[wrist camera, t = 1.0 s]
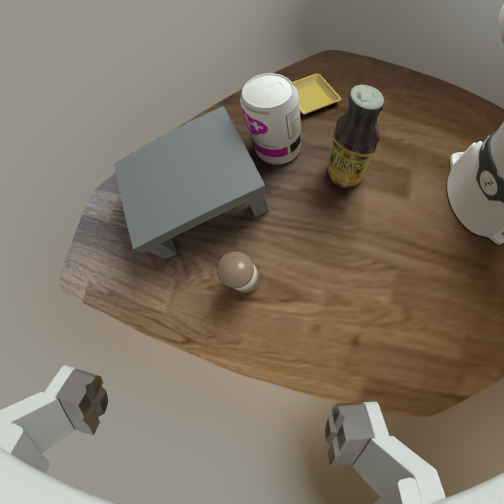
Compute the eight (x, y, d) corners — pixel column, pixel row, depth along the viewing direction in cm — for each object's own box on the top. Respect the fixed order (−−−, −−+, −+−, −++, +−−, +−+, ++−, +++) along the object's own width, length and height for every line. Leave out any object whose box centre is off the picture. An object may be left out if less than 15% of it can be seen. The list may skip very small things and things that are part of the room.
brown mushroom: (254, 258, 47) (244, 245, 39) (266, 286, 45) (258, 278, 38) (227, 270, 47) (212, 260, 39) (238, 298, 46) (224, 293, 38)
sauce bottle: (320, 180, 48) (325, 100, 29) (336, 152, 49) (346, 69, 30) (356, 197, 46) (381, 124, 27) (370, 169, 47) (396, 90, 28)
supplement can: (270, 174, 50) (256, 120, 35) (247, 141, 52) (228, 86, 38) (310, 153, 49) (309, 95, 35) (285, 122, 52) (277, 63, 37)
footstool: (237, 140, 52) (223, 106, 43) (273, 212, 48) (265, 185, 38) (141, 187, 54) (114, 163, 44) (163, 263, 49) (133, 249, 40)
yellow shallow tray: (341, 106, 51) (342, 99, 49) (303, 121, 52) (302, 114, 50) (318, 79, 54) (318, 72, 52) (281, 93, 54) (281, 86, 52)
